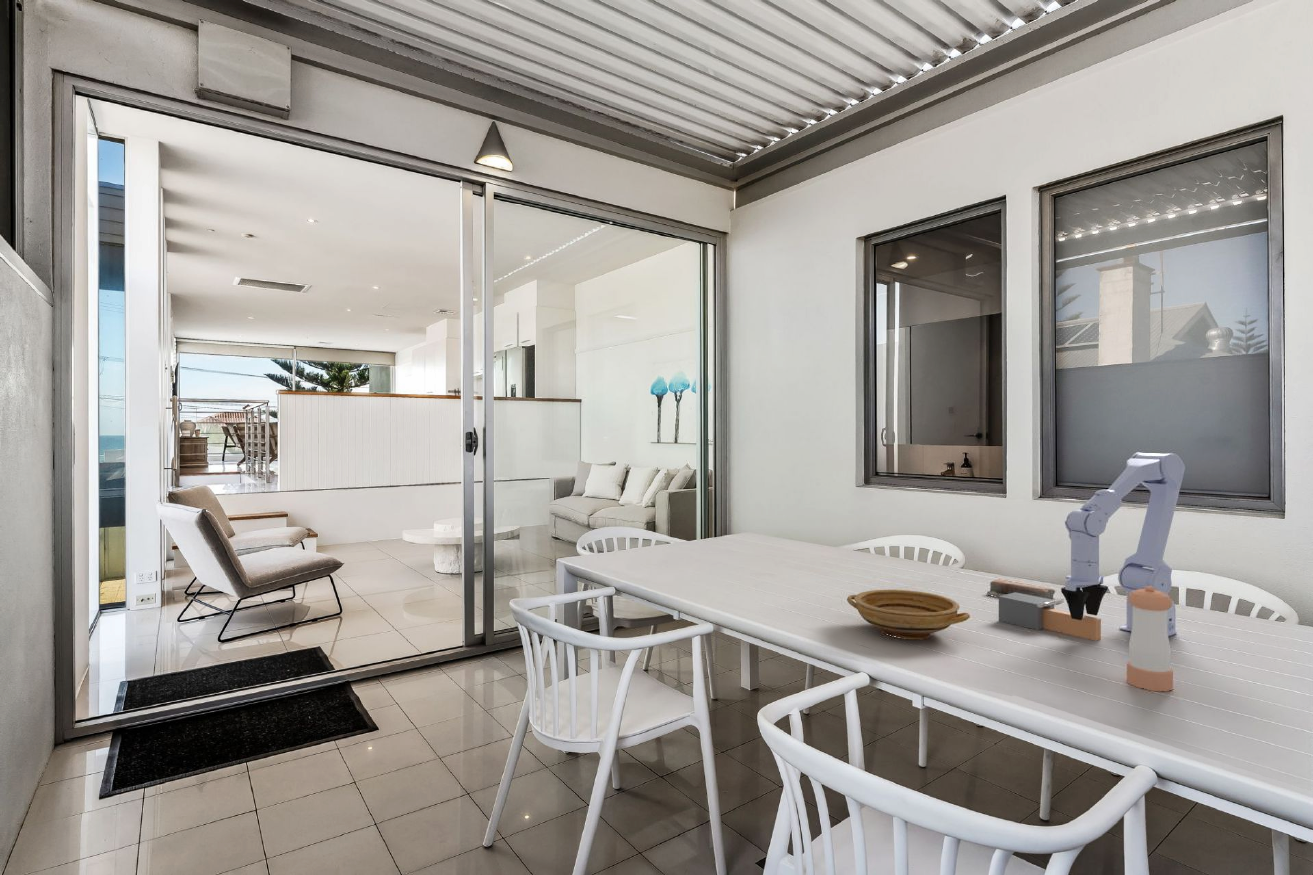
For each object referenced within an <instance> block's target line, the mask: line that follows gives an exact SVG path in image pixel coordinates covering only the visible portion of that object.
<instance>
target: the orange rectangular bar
mask: <svg viewBox="0 0 1313 875" xmlns="http://www.w3.org/2000/svg"><path fill="white" fill-rule="evenodd" d="M1101 624H1102V619H1101V618H1098V617H1094V616H1089V615H1084V614H1083V618H1082V620H1076V619H1072V618H1071V615H1070V611H1064V610H1059V609H1056V608H1054V609H1051V608H1046V607H1043V628H1045V629H1044V630H1047V631H1052V630H1053V631H1052V632H1056V631H1057V633H1061V632H1062V634H1066V635H1069V634H1071V635H1070V636H1075V637H1078V636H1080V637H1079V638H1082V637H1084V638H1083V639H1088V640H1091V639H1093V640H1092V641H1095V640H1097V639H1099V640H1101V639H1102V633H1101V631H1102V625H1101ZM1097 641H1098V640H1097Z"/></svg>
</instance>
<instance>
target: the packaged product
mask: <svg viewBox="0 0 1313 875" xmlns="http://www.w3.org/2000/svg"><path fill="white" fill-rule="evenodd" d="M989 586H990V588H989V589H990V590H989V591H987V592H986V596H988V595H993V596H996V597H995V598H998V597H999V596H1002V595H1006V594H1010V593H1015V592H1016V593H1021V594H1026V595H1031V596H1037V597H1042V598H1047V599H1052V600H1057V601H1058V603H1056V604H1057V605H1059V604H1062V602H1063V603H1064V600H1065V598H1058V597H1054V595H1055V593H1056V589H1053V588H1049V587H1044V586H1040V585H1033V584H1028V583H1023V582H1019V581H1014V580H1008V579H1001V578H998V579H994V580H992V581H991V582H990V584H989ZM993 596H992V597H993ZM1054 606H1056V605H1055V604H1054Z"/></svg>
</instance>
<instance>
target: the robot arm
mask: <svg viewBox="0 0 1313 875" xmlns="http://www.w3.org/2000/svg"><path fill="white" fill-rule="evenodd" d="M1185 470H1186V466H1185V463H1184V462H1183V461H1182V459H1181V457H1180V456H1179V455H1178V454H1176V453H1172V452H1171V453H1149V452H1148V453H1145V452H1139V451H1138V452H1135V453H1134V454H1132V456H1131V457H1130V458H1129V459H1127V460H1126V468H1125V469H1124V470H1123V471H1122V473H1121V474H1120V475H1119V476H1117V478H1116V479H1115V481H1114V482H1113V483H1112V484H1111V485H1110V487H1109V488H1108V489H1099V490H1096V491H1095V492H1094V495H1093V496H1092V497H1091V498H1090V499H1088V501H1086V502H1085V503H1084V504H1083V505H1082V506H1081V507H1080V508H1079V509H1074V510H1072V511H1071V512H1069V514H1068V515H1067V516H1066V520H1064V525H1065V529H1066V530H1067V531H1068V538H1069V540H1070V575H1066V576H1065V580H1066V581H1065V584H1064V587H1063V586H1062V587H1060V592H1061V594H1062V595H1063V596H1064V600H1065V601H1066V604H1067V607H1068V612H1070V615H1071V618H1072V619H1076V620H1082V618H1083V615H1084V613H1085V612H1086V614H1087V615H1091V616H1095V617H1096V616H1098V614H1099V610H1100V606H1101V604H1102V600H1103V599H1104V596H1105V594H1106V593H1107V591H1108V590H1109V589H1108V588H1109V587H1108V586H1107V585H1104V576H1103V575H1100V535H1102V534H1104V532H1105V530H1106V526H1107V524H1108V522H1109V519H1110V518H1111V517H1112V516H1113V515H1114V514H1115V513H1116V512H1117V511H1118V510H1119V509H1120V508H1121V507H1122V504H1123V500H1122V499H1123V498H1124V497H1126V495H1127V494H1129V493H1130V492H1131V491H1132V490H1134V489H1135V488H1136V487H1138V486H1139V485H1140V484H1142V486H1144V487H1145V488H1147V489H1148V490H1149V492H1150V496H1149V500H1148V504H1147V509H1146V513H1145V516H1144V521H1143V524H1142V529H1141V532H1140V536H1139V541H1138V544H1137V547H1136V548H1137V549H1136V552H1135V553H1133V554H1131V555H1130V556H1128V557H1126V558H1125V559H1124V564H1123V565H1122V566H1121V568H1120V570H1119V571H1118V574H1117V580H1118V584H1119V585H1120V587H1121V588H1122V589H1123V592H1124V593H1126V609H1125V610H1126V612H1125V613H1126V616H1125V618H1126V619H1125V621H1126V624H1125V625H1122V626H1119V630H1122V631H1127V632H1130V633H1131V632H1132V620H1133V606H1132V605H1131V604H1130V603H1129V601H1128V595H1129V594H1130V593H1131V592H1132V591H1134V590H1138V589H1145V587H1146V586H1151V587H1154V589H1155V590H1156V591H1160V592H1163V593H1165V594H1167V595H1169V593H1170V591H1171V590H1172V585H1173V584H1172V572H1173V571H1172V570H1173V569H1172V568H1171V567H1170V565H1168V563H1167V562H1166V561H1165V560H1164V556H1165V555H1164V554H1165V551H1166V548H1167V544H1168V540H1169V535H1170V530H1171V526H1172V523H1173V519H1174V514H1175V511H1176V507H1177V504H1178V503H1177V502H1178V499H1179V496H1180V489H1181V486H1182V483H1183V478H1184V475H1185V474H1184V473H1185ZM1172 603H1173V604H1172V606H1171V608H1170V609H1169V610H1167V633H1168V637H1170V636H1173V635H1176V634H1177V631H1176V605H1175V601H1173V600H1172ZM1084 611H1085V612H1084Z"/></svg>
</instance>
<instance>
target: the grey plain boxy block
mask: <svg viewBox="0 0 1313 875" xmlns="http://www.w3.org/2000/svg"><path fill="white" fill-rule="evenodd" d="M1056 603H1058V601H1057V600H1052V599H1047V598H1042V597H1037V596H1031V595H1026V594H1021V593H1016V592H1015V593H1010V594H1006V595H1002V596H999V598H998V621H999V622H1001V621H1003V622H1002V623H1005V622H1006V624H1010V623H1012V624H1011V625H1014V624H1015V626H1017V627H1018V626H1020V627H1022V626H1024V627H1023V628H1027V629H1031V628H1033V629H1032V630H1036V631H1039V630H1042V628H1043V607H1046V608H1051V609H1055V605H1054V604H1056Z"/></svg>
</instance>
